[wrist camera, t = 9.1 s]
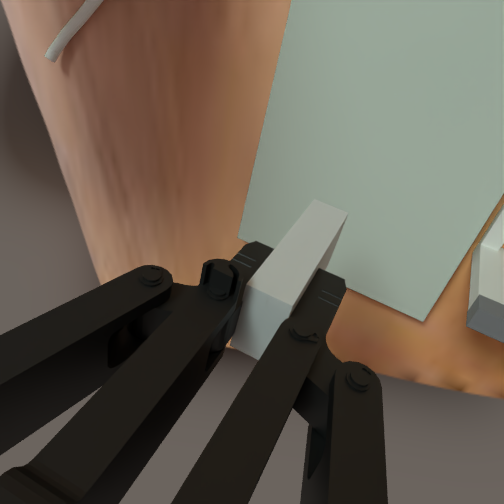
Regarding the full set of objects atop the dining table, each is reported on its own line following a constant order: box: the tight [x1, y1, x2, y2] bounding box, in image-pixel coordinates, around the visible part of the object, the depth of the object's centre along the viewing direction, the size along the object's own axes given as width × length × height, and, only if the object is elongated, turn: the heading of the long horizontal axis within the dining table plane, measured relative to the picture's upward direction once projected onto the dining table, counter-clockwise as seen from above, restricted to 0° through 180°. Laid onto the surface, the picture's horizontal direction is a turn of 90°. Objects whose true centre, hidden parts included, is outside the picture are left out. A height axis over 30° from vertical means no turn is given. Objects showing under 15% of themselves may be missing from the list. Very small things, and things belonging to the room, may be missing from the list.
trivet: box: [237, 0, 504, 322], centre depth 26 cm, size 18×14×1 cm
